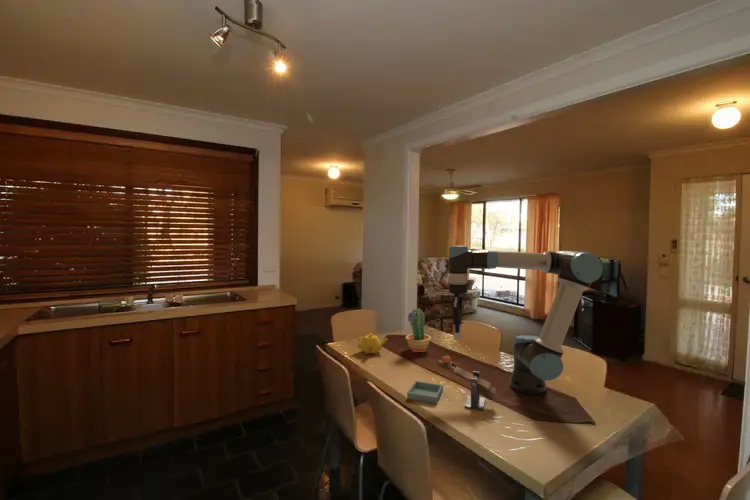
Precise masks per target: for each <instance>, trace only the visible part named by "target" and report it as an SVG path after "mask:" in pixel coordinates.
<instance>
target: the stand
mask: <svg viewBox="0 0 750 500" xmlns="http://www.w3.org/2000/svg"><path fill="white" fill-rule="evenodd" d="M472 374H473V375H476V376H478V377H480V374H481V373H480V371H478V370H477V371H475V370H473V371H472ZM480 378H481V377H480ZM478 389H479V386H477V379H476V378H471V382H470V394H468V395H467V398H466V401H465V404H464V409H469V410H475V411H480V412H484V408H485V402H486V397H483V396H481V397H480V394H478Z"/></svg>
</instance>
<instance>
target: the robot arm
mask: <svg viewBox="0 0 750 500" xmlns="http://www.w3.org/2000/svg"><path fill="white" fill-rule="evenodd" d="M496 268H502V269H516V270H517V269H518V270H520V269H521V270H530V271H531V270H532V271H533V270H534V271H542V272H543V273H544V274H545V273H547V274H554V275H558V277H557V279H558V281H559V286H558V289H557V291H556V293H555V295H554V298H553V301H552V302H551V303H552V304H551V306H550V308H549V311H548V314H547V317H546V319H545V321H544V323H543V326H542V329H541V332H540V334H539V336H538V335H537V336H536V335H517V336H515V337H514V338H513V339H514V340H513V369H512V373H511V375H510V377H509V386H510V387H511V388H512V389H514V390H516V391H517V392H521V393H525V394H529V395H530V394H531V395H539V394H543V393H545V392H546V391H547V381H549V382H550V381H552V380H556V379H557V378H559V377H560V376H561V374H562V373H563V370H564V364H563V360H562V357H563V355H564V350H563V348H562V346H563V343H564V340H565V338H566V335H567V333H568V330H569V328H570V325H571V323H572V320H573V318H574V316H575V313H576V311H577V307H578V306H579V303H580V300H581V298H582V295H583V292H585V291H588V290H589V289H590V288H591V285H592V283H594V282H596V281H598V280H599V279H600V278H601V276H602V273H603V270H604V269H603V268H604V267H603V264H602V261H601V259H600V258H599V257H598V256H597V255H596V254H593V252H592V253H591V252H587V251H584V250H583V251H582V250H581V251H576V250H559V251H557V250H556V251H554V250H553V251H552V250H551V251H550V250H549V251H547V250H545V251H544V252H542V253H541V252H527V251H514V250H513V251H512V250H498V249H497V250H495V249H479V248H470V249H469V248H468V245H467V246H466V245H451V246H450V247H449V249H448V274H447V277H448V282H449V283H448V292H449V293H450V294H453V296H452V298H451V301H452V302H451V307H452V323H451V324H452V325H453V340H454V341H462V325H463V324H464V321H463V308H464V307H463V305H464V296H463V295H464V294H467V293H468V284H467V283H468V278H469V276H468V270H474V269H477V270H480V269H481V270H492V269H496Z"/></svg>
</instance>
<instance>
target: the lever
mask: <svg viewBox="0 0 750 500" xmlns="http://www.w3.org/2000/svg"><path fill="white" fill-rule="evenodd" d="M443 357H444V356H440V359H439V360H438V361H437V364H436V366H437V367H439V368H441V369H443V370H445V371H448V372H449V373H451V374H453V375H456V376H457V377H459V378H461V379H463V380H465V381H467V382H470V383H471V378H476V379H477V386H479V389H478V394H479V396H480V395H481V397H483V398H485V399H486V398H487V399H489V400H490V401H493V400H494V397H495V394H496V391H497V388H496V387H494V386H492V385H491V384H492V383H491V382H489V381H487V380H485V379H483V378H482V377H478V376H476V375H473V373H471V372H470V371H467V370H465V369H463V368H461V367H459V366H457V363H455V362H453V361H452V360H451V362H450V364H448V365H447V364H444V363H443V361H442V359H443Z"/></svg>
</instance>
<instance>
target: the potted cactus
mask: <svg viewBox="0 0 750 500" xmlns="http://www.w3.org/2000/svg"><path fill="white" fill-rule="evenodd" d="M425 319H426V316H425V313H424V312H423V310H422V309H420V308H413V309H412V310H411V311H410V312H409V313H408V314H407V322H409V324H410V325H411V326H410V327H411V329H412V333H411V334H410V333H409V334H407V335H405V341H407V343H408V347H409V348H410V351H411V350H412V351H413V353H415V352H423V353H425V352H427V348H428V347H429V344H430V342H431V341H432V336H431V335H428V334H425V330H424V328H425V327H424V326H425V322H426V321H425ZM412 351H411V352H412Z"/></svg>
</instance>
